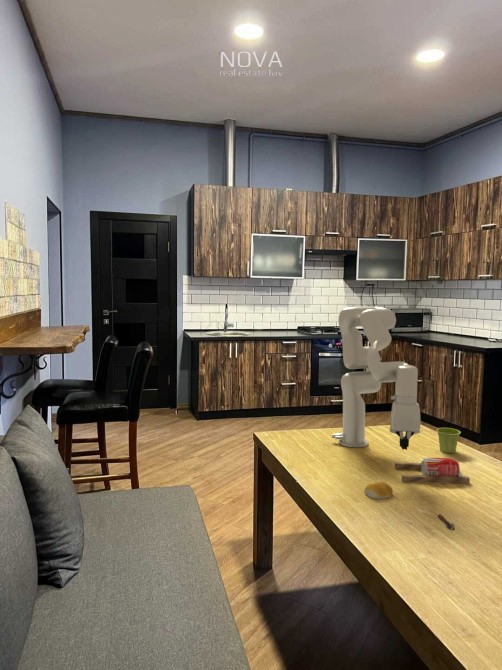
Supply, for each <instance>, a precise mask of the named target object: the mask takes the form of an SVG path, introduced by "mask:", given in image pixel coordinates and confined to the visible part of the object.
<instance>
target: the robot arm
mask: <svg viewBox="0 0 502 670" xmlns="http://www.w3.org/2000/svg"><path fill="white" fill-rule="evenodd" d="M396 323H397V318H396V315H395V313H394V311H393V310H391V309H390V308H386V307H381V306H380V307H379V306H348V307H345V308H343V309H341V311H340V312H339V314H338V328H339V331H340V334H341V339H342V340H341V341H342V343H341V344H342V357H343V364H344V367H345V368H346V369H348V370H349V369H350V370H357V369H365V371H352V372H347V373H345V374H343V375H342V376H341V380H340V386H341V391H342V392H341V393H342V430H341V432H340V433H332V434H331V438H332V439H335V440H338V444H340V445H341V446H344V447H346V448H364V447H367V446H368V445H369V440H368V439H366V438H365V436H366V432H365V431H366V427H365V426H366V403H365V400H364V399H363V397H362V396H361V395H362V394H364V395H365V394H373V393H377V392H379V391H380V390H381V387H382V383H393V382H395V387H394V388H395V389H394V390H395V393H394V394H393V395H391V396H390V400H393V402H392V405H391V410H390V411H391V412H390V418H389V427H390V428H389V432H390V433H391V434H396V435H397V437H399V447H400V448H401V449H402V450H403V451H404V450H406V451H407V450H408V448H409V447H410V439H411V437H413V436H414V435H417V434H420V433H421V431H420V430H421V409H420V404H419V402H417V401H418V378H419V377H418V376H419V375H418V374H419V372H418V371H419V369H418V368H417V367H416V366H414V365H412V364H408V363H407V362H405V361H383V362H381V356H380V353H379V351H381V350H384V349H386V347H388V346H390V344H391V342H392V336H391V334H390V332H389V330H392V329H393V328H394V327H395V326H396ZM357 327H362V329H363V331H364V334H365V336H366V338H367V341H368V343H369V345H370V346H363V345H364V344H363V336H362V334H361V332H360V330H359V329H358V328H357ZM404 433H405V434H404Z"/></svg>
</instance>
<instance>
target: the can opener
mask: <svg viewBox="0 0 502 670" xmlns="http://www.w3.org/2000/svg"><path fill="white" fill-rule="evenodd" d="M437 517H438V519H440V520H441V521H442V522H443V523H444V524H445V525H446V526H445V527H446V528H447V530H450V531H454V530H455V529H456V528H455V525H454V524H450V521H448V520H447V519H446V518H445V517H444V516H443V515H442V514H437Z"/></svg>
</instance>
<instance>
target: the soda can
mask: <svg viewBox="0 0 502 670" xmlns="http://www.w3.org/2000/svg"><path fill="white" fill-rule="evenodd" d="M420 463H421V470H422V472H421V475H429V476H459V473H461V471H460V470H461V469H460V464H459V461H458V460H455V459H453V458H450V457H448V458H447V457H424V458H423V459H422V460H421V462H420Z"/></svg>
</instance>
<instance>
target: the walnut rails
mask: <svg viewBox="0 0 502 670" xmlns="http://www.w3.org/2000/svg"><path fill="white" fill-rule="evenodd" d="M394 469H395V470H413V471H414V470H415V471H416V470H417V471H418V470H419V471H420V469H421V462H394ZM401 482H402V483H423V484H424V483H426V484H427V483H429V484H430V483H431V484H463V485H464V484H471V483H470V482H471V481H470V477H469V476H468V475H467V476H464V475H463V476H429V475H423V474H418V475H417V474H402V475H401Z"/></svg>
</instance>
